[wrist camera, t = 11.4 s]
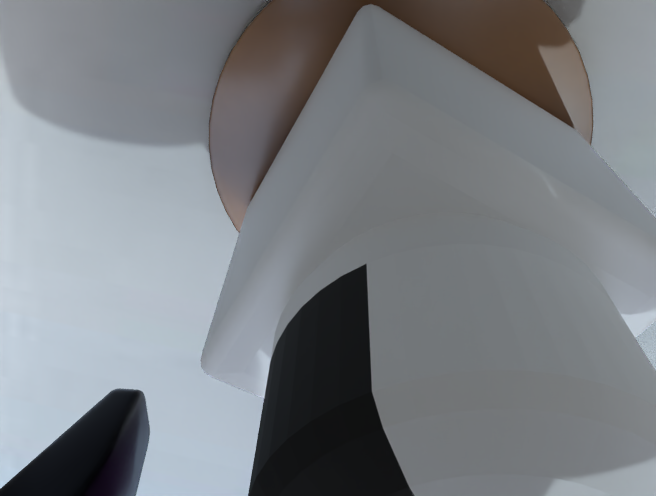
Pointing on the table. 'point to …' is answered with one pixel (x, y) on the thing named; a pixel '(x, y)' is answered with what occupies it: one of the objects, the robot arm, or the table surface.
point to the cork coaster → (321, 43)
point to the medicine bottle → (439, 291)
